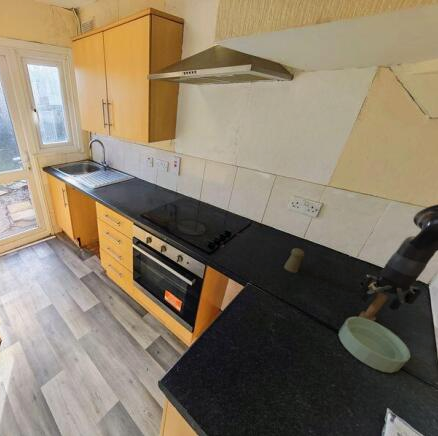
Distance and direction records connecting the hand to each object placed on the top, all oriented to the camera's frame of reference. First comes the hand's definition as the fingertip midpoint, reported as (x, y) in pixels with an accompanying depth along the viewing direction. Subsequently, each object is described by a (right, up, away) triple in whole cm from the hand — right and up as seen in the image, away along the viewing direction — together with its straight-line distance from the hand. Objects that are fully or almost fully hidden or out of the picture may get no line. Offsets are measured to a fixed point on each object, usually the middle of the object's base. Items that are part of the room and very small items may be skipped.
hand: (377, 303), depth 80 cm
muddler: (-1, -8, +4) cm, 9 cm away
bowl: (-10, -12, -6) cm, 17 cm away
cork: (-12, +6, +30) cm, 32 cm away
